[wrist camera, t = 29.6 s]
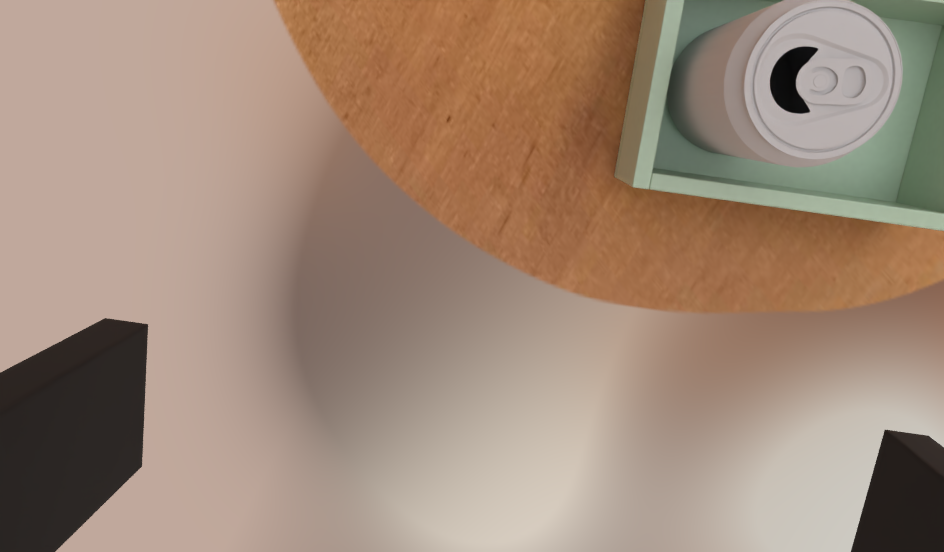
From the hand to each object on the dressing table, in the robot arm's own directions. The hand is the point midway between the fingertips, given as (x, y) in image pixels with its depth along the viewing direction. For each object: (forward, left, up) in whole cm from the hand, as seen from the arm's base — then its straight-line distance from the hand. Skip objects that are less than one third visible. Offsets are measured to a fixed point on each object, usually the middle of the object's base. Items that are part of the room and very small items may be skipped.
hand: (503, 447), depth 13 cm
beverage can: (+10, +8, -28) cm, 31 cm away
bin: (+13, +9, -29) cm, 33 cm away
